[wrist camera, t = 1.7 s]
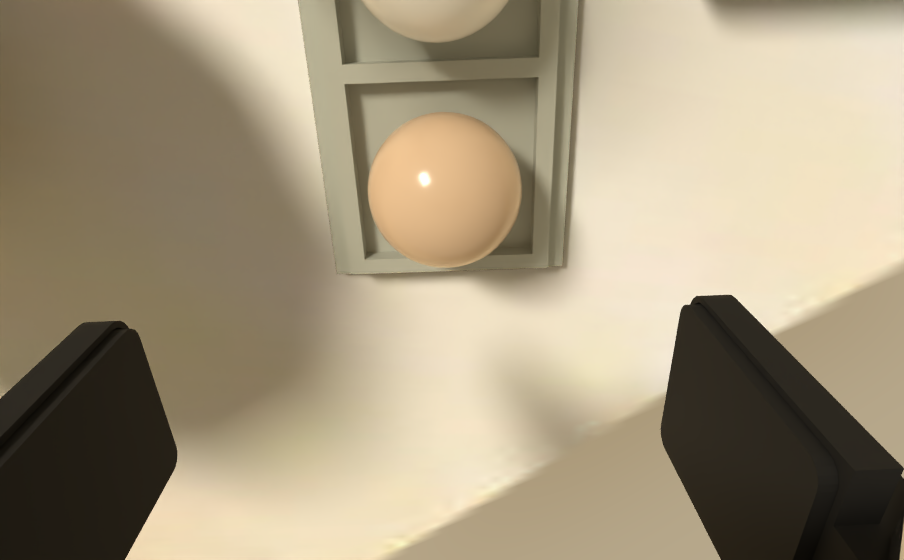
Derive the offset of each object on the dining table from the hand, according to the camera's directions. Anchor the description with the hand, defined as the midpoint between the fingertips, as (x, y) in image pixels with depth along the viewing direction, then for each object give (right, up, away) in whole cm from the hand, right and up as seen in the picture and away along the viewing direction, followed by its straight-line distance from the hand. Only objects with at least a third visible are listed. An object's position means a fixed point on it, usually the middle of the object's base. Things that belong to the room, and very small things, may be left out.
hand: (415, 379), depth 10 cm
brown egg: (0, +6, +11) cm, 12 cm away
